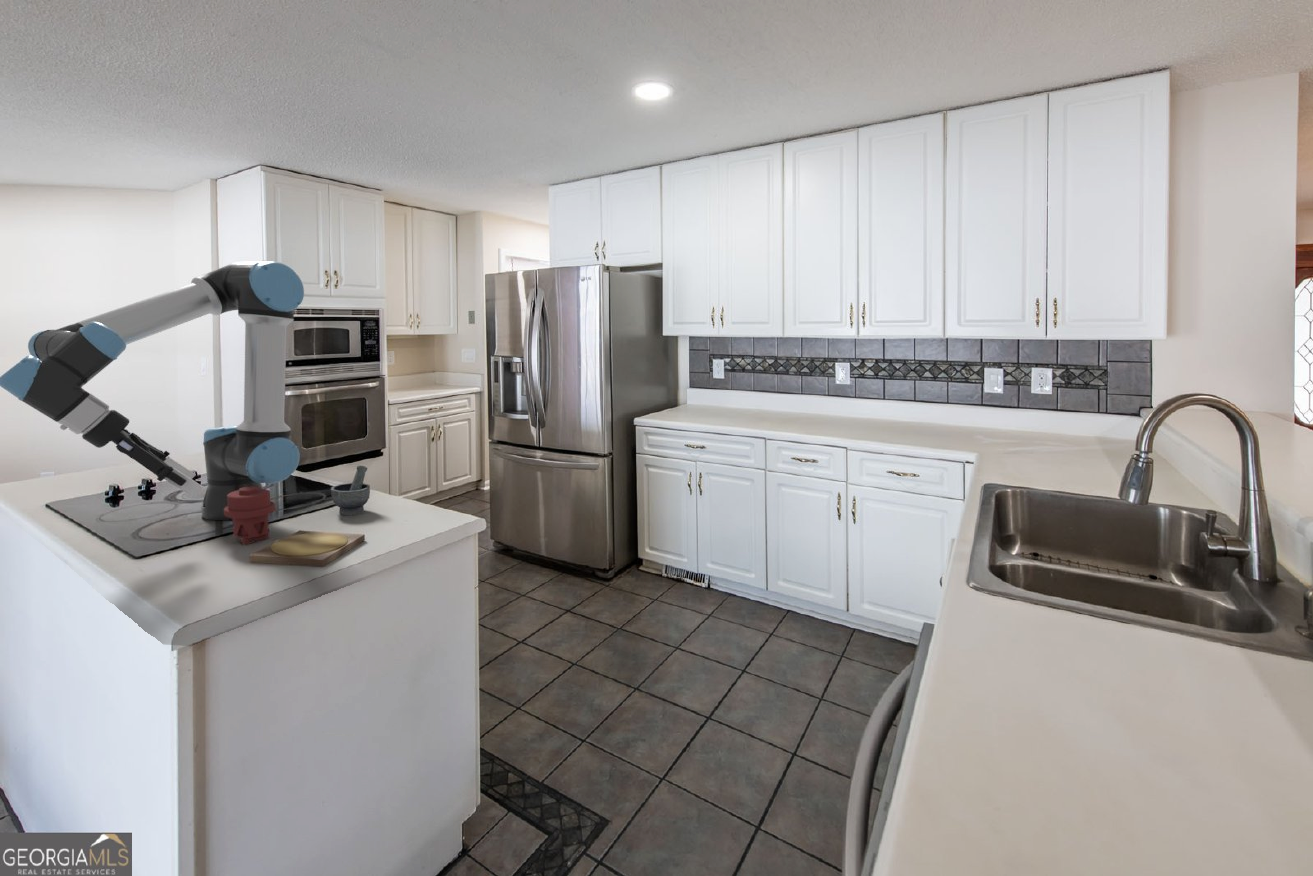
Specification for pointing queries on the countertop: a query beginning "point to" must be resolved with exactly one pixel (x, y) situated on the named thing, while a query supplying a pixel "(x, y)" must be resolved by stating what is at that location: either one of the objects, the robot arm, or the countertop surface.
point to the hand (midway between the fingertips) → (194, 485)
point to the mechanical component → (250, 513)
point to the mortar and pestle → (352, 494)
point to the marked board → (307, 548)
